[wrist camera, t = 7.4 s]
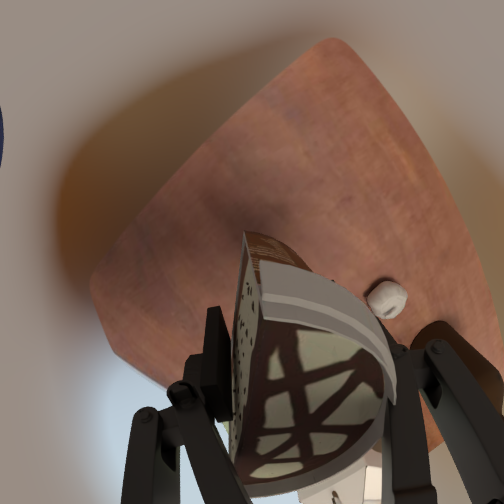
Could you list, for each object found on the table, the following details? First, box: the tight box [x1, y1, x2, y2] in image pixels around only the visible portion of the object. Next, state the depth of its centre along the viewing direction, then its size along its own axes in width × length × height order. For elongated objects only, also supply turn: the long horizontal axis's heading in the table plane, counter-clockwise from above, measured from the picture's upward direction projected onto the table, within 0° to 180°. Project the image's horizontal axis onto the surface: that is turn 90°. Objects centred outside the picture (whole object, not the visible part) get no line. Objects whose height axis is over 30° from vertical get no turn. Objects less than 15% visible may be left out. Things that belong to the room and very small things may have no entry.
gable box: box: [297, 438, 382, 504], centre depth 37 cm, size 22×13×28 cm, turn 52°
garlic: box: [367, 281, 408, 319], centre depth 37 cm, size 6×5×5 cm
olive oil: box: [410, 321, 504, 421], centre depth 33 cm, size 11×11×25 cm
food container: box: [229, 231, 397, 498], centre depth 13 cm, size 12×6×10 cm, turn 173°
